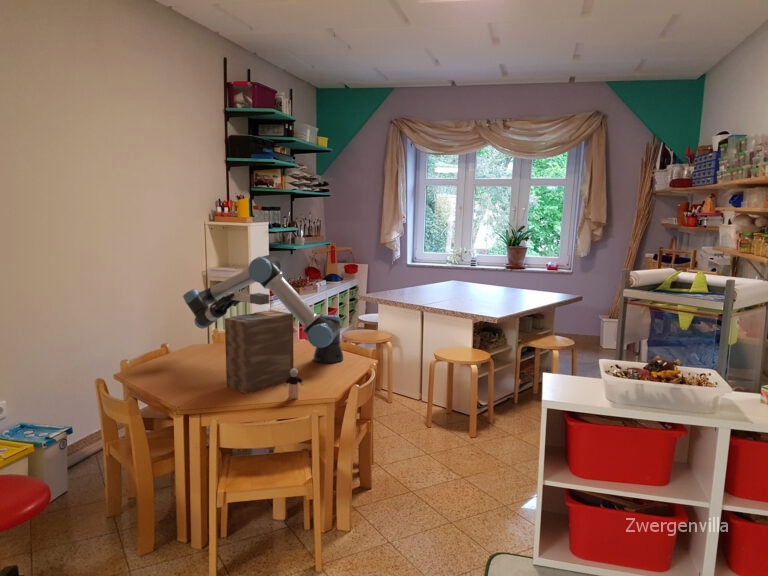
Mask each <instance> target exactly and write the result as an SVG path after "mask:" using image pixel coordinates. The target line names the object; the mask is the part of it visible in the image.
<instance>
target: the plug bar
mask: <svg viewBox="0 0 768 576" xmlns="http://www.w3.org/2000/svg"><path fill="white" fill-rule="evenodd" d="M231 293H233V292H227V294H226V296H228V295H230V294H231ZM226 296H225V297H226ZM233 300H237V301H241V302H243V303H250V304H254V305H259V306H261V305H267V304H270V294H268V293H261V292H257V293H256V292H255V293H248V294H247V293H240V295H239V296H237V297H236V298H235V299H233Z"/></svg>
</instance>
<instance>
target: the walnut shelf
mask: <svg viewBox="0 0 768 576" xmlns="http://www.w3.org/2000/svg"><path fill="white" fill-rule="evenodd" d="M224 335H225V338H224V339H225V372H226V373H225V374H226V375H225V376H226V377H225V378H226V388H228V387H229V388H228V389H231V388H232V389H233V390H235V391H238V390H239V391H238V392H241V391H242V392H241V393H244V392H245V394H247V395H248V393H249V394H251V392H252V393H254V392H255V393H256V392H257V391H260V390H264V389H266V388H270V386H271V387H273V385H274V386H276V385H279V384H282V383H283V384H284V383H285V382H286V381H287V379H288V378H289V377H292V376H291V374H290V370H291V369H293V368H295V367H294V366H295V365H294V359H295V358H294V315H293V314H292V313H291V312H284V311H279V310H273V309H271V310H263V311H256V312H253V313H248V314H239V315H234V316H231V317H226V318H224ZM263 388H264V389H263Z"/></svg>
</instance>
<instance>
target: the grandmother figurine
mask: <svg viewBox="0 0 768 576" xmlns="http://www.w3.org/2000/svg"><path fill="white" fill-rule="evenodd" d="M290 374H291V376H292V377H289V378H288V379H287V381H286V382H284V387H285V388H286V387H287V386H288V397H287V398H286V399H287V401H288V400H289V401H291V400H299V384H300V385H301V386H304V382H303V379H302V378H300V377H299V376H298V374H299V371H298V369H296V368H295V367H294V368H293V369H291V370H290ZM288 384H289V385H288Z"/></svg>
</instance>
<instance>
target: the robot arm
mask: <svg viewBox="0 0 768 576" xmlns="http://www.w3.org/2000/svg"><path fill="white" fill-rule="evenodd" d="M281 269H282V266H281V262H280V261H279V259H278V258H277V257H276V256H273V255H270V254H267V255H263V256H258V257H256V258H254V259H253V260H252V261H250V263H249V264H248V269H245V270H243V271H242V272H240V273H237V274H235V275H233V276H231V277H229V278H227V279H225V280H223V281H221V282H218V283H217V284H214V285H211V287H208V288H206V289H204V290H202V291H201V290H200V291H198V290H197V289H196V288H193V289H190V290H189V291H187V292H185V293H184V294H183V295H182V298H183V299H184V300H183V301H184V302H185V304H186V305H187V307H188V308H189V309H190V311H191V312H192V313H193V315H194V324H195V326H196V327H197V328H198V329H206V328H208V327H210V326H211V325H212V324H214V323H215V322H218V320H219V319H220V318H222V317H223V316H224V315H226V314H227V312H228V310H229V309H230V308H231V307H237V306H238V305H239V304H240V303H241V302H242V301H237V300H233V299H235V298H236V297H237V296H239V295H240V293H247V294H249V290H248V288H247V287H249V286H250V285H253V284H254V283H258V284H260V285H261V286H262V287H263V288H264V290H265V289H266V290H267V289H268V290H270V291H271V292H272V294H273V295H275V298H277V299H278V301H280V303H282V304H283V305H284V306H285V309H287V310H288V311H289V313H291V314H293V318H295V319H296V320H297V321H298V322H299V323H300V324H301V325H302V331H303V332H304V333H305V334H306V336H307V340H308V342H309V344H310V345H312V346H313V347H315V351H314V353H313V360H314V362H317V363H320V364H335V362H336V363H339V361H340V362H342V361H343V360H344V352H343V350H342V347H341V318H340V316H339V315H335V314H334V315H333V314H322V313H321V314H320V313H316V312H315V311H314V309H313V308H312V307H310V305H309V304H308V303H307V302H306V301H305V300H304V298H303V297H302V296H301V295H300V294H299V293H298V292H297V291H296V290H295V289H294V288H293V287H292V285H291V284H289V282H288V281H287V280H286V279H285V278H284V272H283V271H282V270H281ZM240 290H241V291H240ZM227 292H233V293H231V294H230V295H228V296H226V294H227Z"/></svg>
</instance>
